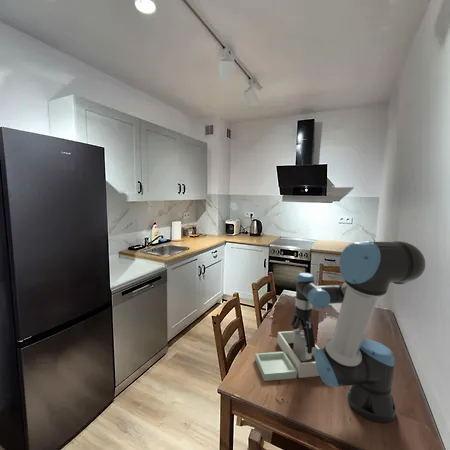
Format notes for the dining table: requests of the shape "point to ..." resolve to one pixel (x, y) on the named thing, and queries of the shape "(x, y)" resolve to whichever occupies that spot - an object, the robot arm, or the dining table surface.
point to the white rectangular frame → (302, 368)
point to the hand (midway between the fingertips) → (301, 349)
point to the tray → (275, 366)
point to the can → (299, 345)
